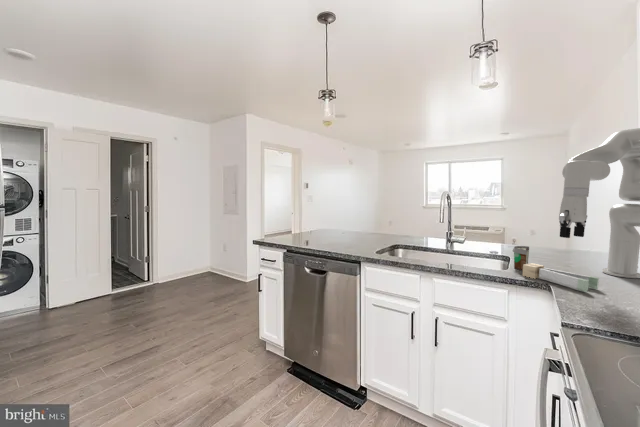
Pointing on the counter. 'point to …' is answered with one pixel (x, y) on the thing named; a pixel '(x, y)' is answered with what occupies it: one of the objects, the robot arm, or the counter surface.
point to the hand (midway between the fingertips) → (571, 236)
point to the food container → (520, 256)
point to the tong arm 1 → (564, 280)
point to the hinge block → (531, 270)
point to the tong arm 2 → (592, 280)
